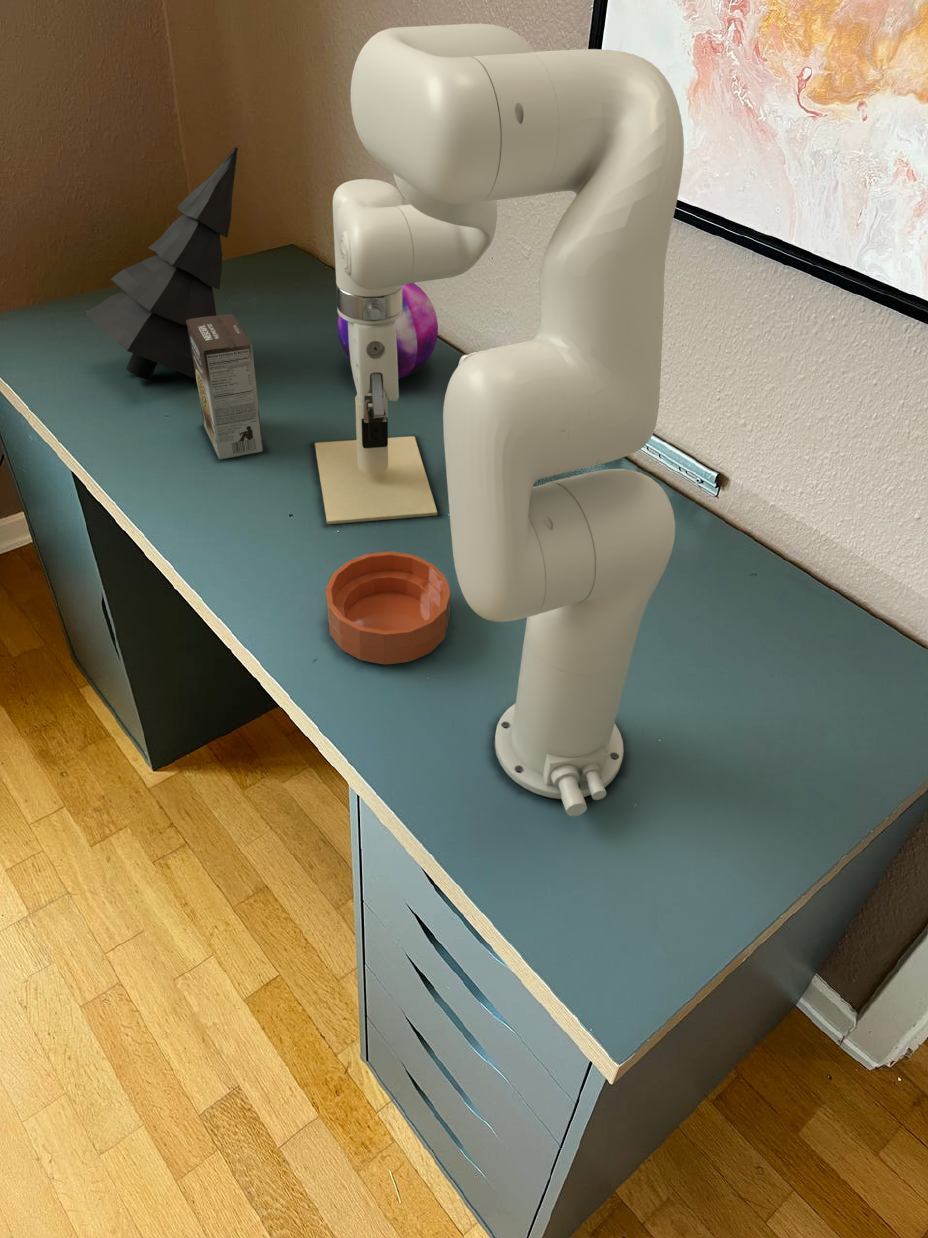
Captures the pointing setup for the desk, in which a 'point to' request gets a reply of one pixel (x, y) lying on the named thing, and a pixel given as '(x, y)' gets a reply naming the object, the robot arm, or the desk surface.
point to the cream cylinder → (369, 457)
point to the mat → (373, 483)
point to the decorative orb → (408, 331)
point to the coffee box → (226, 384)
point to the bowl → (388, 607)
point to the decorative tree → (172, 281)
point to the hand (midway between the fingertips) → (372, 434)
